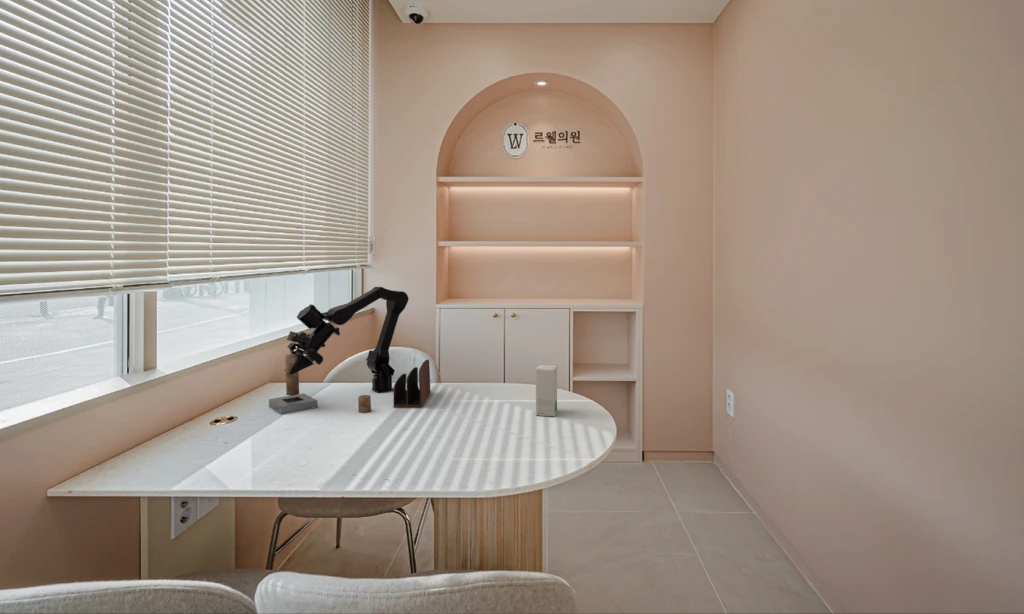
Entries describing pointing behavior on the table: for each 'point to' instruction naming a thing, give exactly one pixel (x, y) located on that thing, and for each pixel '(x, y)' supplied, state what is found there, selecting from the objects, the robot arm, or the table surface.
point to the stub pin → (364, 403)
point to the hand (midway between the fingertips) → (288, 372)
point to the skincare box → (546, 390)
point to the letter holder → (412, 388)
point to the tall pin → (293, 379)
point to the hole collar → (292, 403)
